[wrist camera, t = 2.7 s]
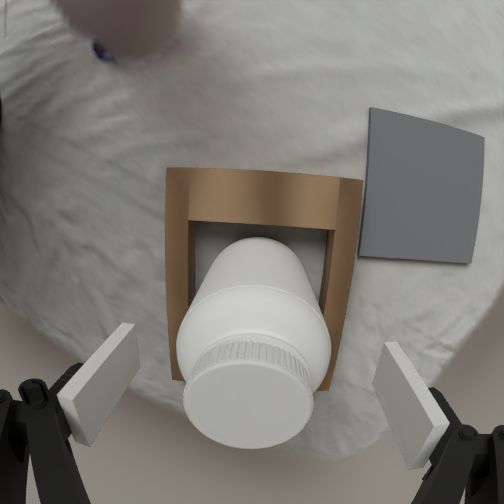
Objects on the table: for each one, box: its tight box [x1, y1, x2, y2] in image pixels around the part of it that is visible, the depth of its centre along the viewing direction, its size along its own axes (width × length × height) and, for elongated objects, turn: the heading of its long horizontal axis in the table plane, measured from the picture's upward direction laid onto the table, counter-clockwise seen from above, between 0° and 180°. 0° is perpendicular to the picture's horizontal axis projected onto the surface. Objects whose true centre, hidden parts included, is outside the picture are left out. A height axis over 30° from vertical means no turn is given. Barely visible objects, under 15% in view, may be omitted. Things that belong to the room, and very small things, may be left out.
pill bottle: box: [176, 237, 331, 449], centre depth 18 cm, size 8×8×15 cm
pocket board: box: [165, 168, 363, 391], centre depth 24 cm, size 14×18×2 cm
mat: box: [358, 107, 484, 264], centre depth 23 cm, size 12×12×1 cm
